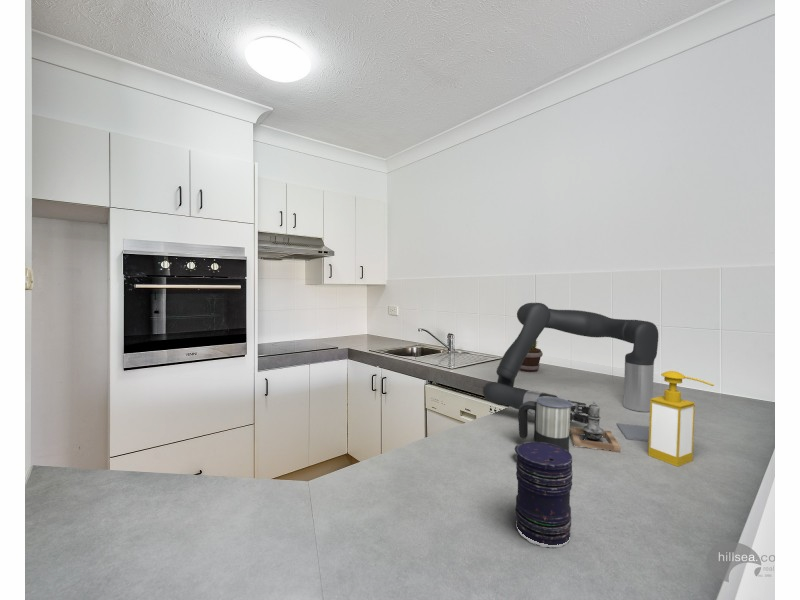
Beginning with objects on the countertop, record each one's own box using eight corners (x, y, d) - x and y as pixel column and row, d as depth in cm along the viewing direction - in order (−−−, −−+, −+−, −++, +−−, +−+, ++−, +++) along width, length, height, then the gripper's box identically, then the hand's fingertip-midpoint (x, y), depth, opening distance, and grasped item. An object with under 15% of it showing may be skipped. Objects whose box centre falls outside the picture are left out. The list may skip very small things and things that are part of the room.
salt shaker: (607, 446, 108) (608, 405, 108) (585, 444, 110) (586, 403, 109) (600, 438, 114) (601, 399, 114) (579, 436, 115) (580, 397, 115)
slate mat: (616, 424, 125) (616, 423, 125) (658, 429, 122) (658, 427, 121) (626, 439, 114) (626, 437, 114) (672, 444, 110) (673, 442, 110)
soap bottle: (702, 476, 92) (706, 380, 91) (648, 455, 103) (651, 369, 102) (717, 469, 95) (721, 377, 94) (663, 450, 106) (666, 367, 105)
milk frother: (569, 450, 106) (570, 398, 105) (574, 477, 91) (576, 416, 90) (516, 442, 111) (517, 392, 110) (513, 467, 96) (514, 409, 95)
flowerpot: (509, 367, 212) (509, 331, 211) (535, 366, 213) (535, 331, 213) (520, 373, 197) (520, 335, 196) (547, 372, 199) (548, 335, 198)
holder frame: (569, 431, 119) (569, 426, 119) (610, 436, 116) (610, 431, 116) (574, 446, 108) (574, 441, 108) (620, 452, 105) (620, 446, 104)
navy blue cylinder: (507, 515, 76) (508, 442, 75) (554, 513, 76) (556, 440, 76) (528, 550, 66) (530, 466, 65) (581, 547, 67) (584, 464, 66)
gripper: (530, 397, 118) (585, 409, 106) (550, 388, 128) (602, 399, 116) (530, 420, 118) (584, 435, 107) (549, 410, 128) (601, 422, 117)
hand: (593, 416), depth 112 cm, fingers open, 8 cm apart
